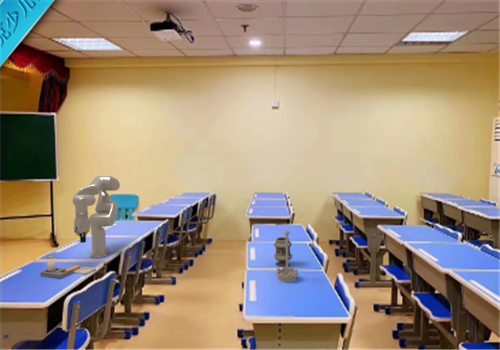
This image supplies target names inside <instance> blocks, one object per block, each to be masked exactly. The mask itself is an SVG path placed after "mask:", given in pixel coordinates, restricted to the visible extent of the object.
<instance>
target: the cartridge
mask: <svg viewBox="0 0 500 350" xmlns="http://www.w3.org/2000/svg"><path fill="white" fill-rule="evenodd" d="M46 264H47V269H48V272H54V271H56V266H57V265H56V255H54V254H52V255H47V256H46Z"/></svg>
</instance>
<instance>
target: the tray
mask: <svg viewBox="0 0 500 350" xmlns="http://www.w3.org/2000/svg"><path fill="white" fill-rule="evenodd" d="M95 271H96V268H95V267H88V266H83V267H80V269H78V270H76V271H74V272H73V274H77V275H78V274H79V275H83V276H86V275H90V274H91V273H93V272H95Z"/></svg>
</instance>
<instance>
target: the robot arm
mask: <svg viewBox="0 0 500 350" xmlns="http://www.w3.org/2000/svg"><path fill="white" fill-rule="evenodd" d="M120 186H121V184H120V181H119V179H117V178H115V177H114V176H112V175H111V176H110V175H97V176H96V177H94V178H93V180H92V181H91V183H90V184H89V185H87V186H86V187H85V186H84V187H83V188H81V189H78V190H77V192H75V194H74V196H73V197H72V204H73V205H74V208H75V209H74V213H75V218H74V220H73V232H74V233H75V236H78V237H79V239H80V240H79V241H80V243H81V244H82V243H86V242H87V235H88V233H90V232H91V250H92V251H91V254H90V255H89V257H90V258H91V259H98V258H99V259H100V258H101V259H102V258H105V257H107V256H109V251H110V250H111V247H110V246H109V247H108V246H107V237H106V229H105V228H104V227H112V226H113V225H114V224H115V222H116V217H117V214H118V210H119V208H118V207H119V205H118V203H117V202H116V201H113V200H111V196H110V195H109V193H108V192H107V191H109V192H110V191H115V192H116V191H118V190H120ZM96 195H98V199H96V197H95V196H96ZM95 203H96V205H95ZM93 205H95V209H94V212H95V213H92V214H90V216H89V209H88V207H90V206H91V207H92V206H93ZM90 230H91V231H90Z"/></svg>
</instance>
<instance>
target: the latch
mask: <svg viewBox="0 0 500 350" xmlns="http://www.w3.org/2000/svg"><path fill="white" fill-rule="evenodd" d="M80 268H81V265H78V264H77V265H74V266H71V267H69V268H65V269H66V270H65V272H66V271H68V270H73V273H74V271H76V270H78V269H80Z"/></svg>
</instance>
